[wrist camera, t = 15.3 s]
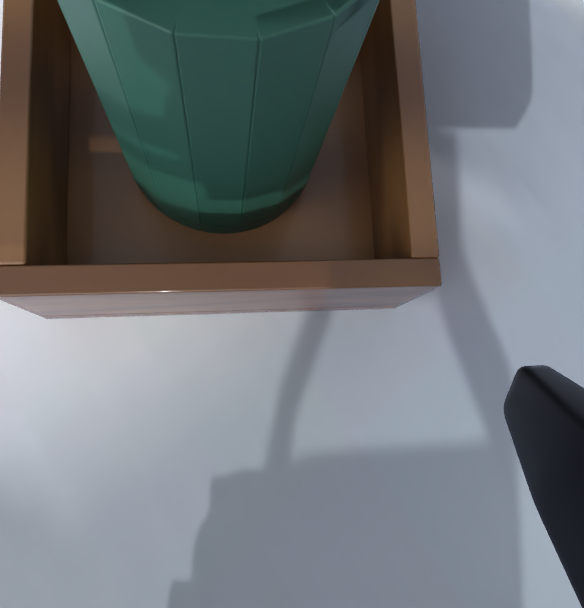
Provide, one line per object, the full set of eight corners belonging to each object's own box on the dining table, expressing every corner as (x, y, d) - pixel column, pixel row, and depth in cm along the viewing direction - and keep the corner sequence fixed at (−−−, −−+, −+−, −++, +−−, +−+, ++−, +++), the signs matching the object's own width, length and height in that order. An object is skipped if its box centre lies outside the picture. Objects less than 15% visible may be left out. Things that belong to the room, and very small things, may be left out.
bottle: (220, 272, 17) (210, -50, 5) (85, 138, 18) (-285, -532, 5) (350, 150, 19) (622, -369, 6) (223, 25, 19) (219, -743, 6)
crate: (395, 308, 19) (442, 286, 15) (45, 318, 17) (-10, 297, 13) (371, 8, 20) (407, -86, 16) (53, -7, 19) (6, -114, 15)
